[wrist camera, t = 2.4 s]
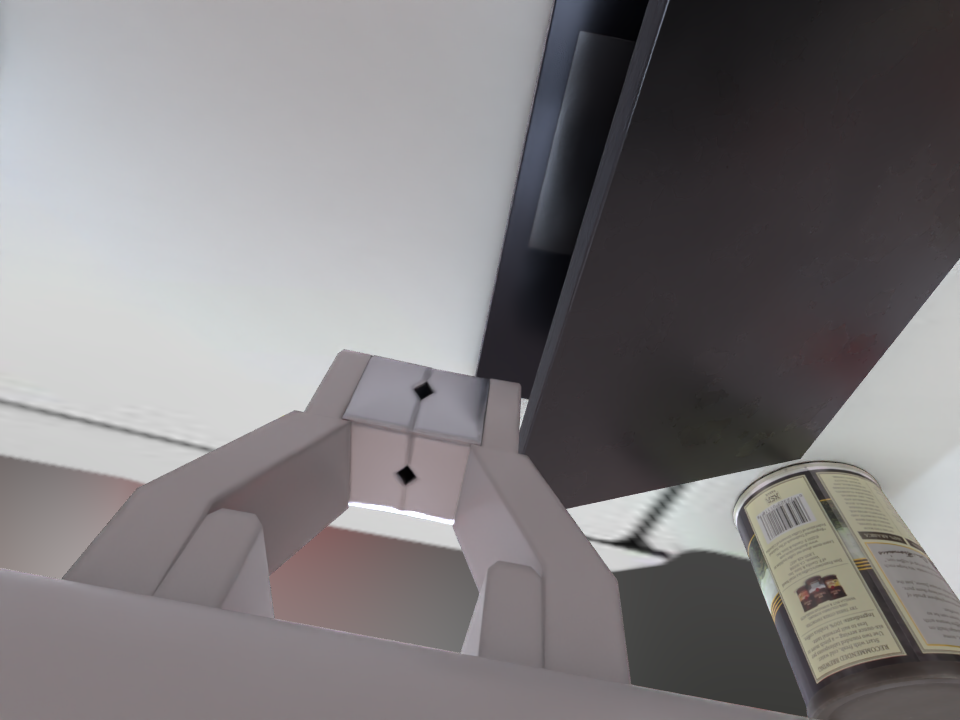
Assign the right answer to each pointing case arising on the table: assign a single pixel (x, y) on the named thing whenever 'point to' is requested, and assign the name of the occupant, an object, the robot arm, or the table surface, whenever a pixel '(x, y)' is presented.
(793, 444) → the laptop screen
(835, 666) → the coffee can
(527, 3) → the table surface
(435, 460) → the robot arm
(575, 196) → the laptop
